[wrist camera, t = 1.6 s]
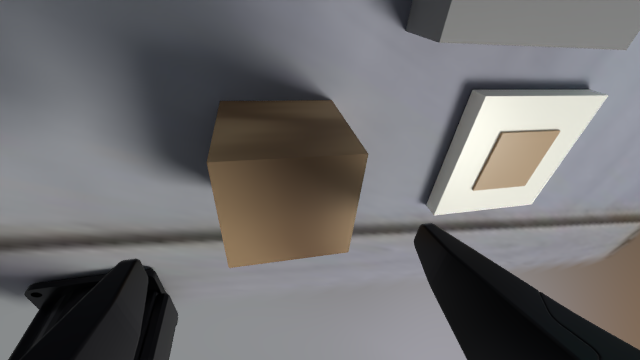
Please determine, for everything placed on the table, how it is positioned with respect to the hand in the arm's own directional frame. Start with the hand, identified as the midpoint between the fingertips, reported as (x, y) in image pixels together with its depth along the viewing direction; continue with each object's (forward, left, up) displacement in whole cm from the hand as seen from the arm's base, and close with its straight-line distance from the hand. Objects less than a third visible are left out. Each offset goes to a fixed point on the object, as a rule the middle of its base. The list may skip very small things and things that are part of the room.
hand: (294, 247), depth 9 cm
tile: (+14, -1, -6) cm, 15 cm away
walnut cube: (0, 0, -6) cm, 6 cm away
